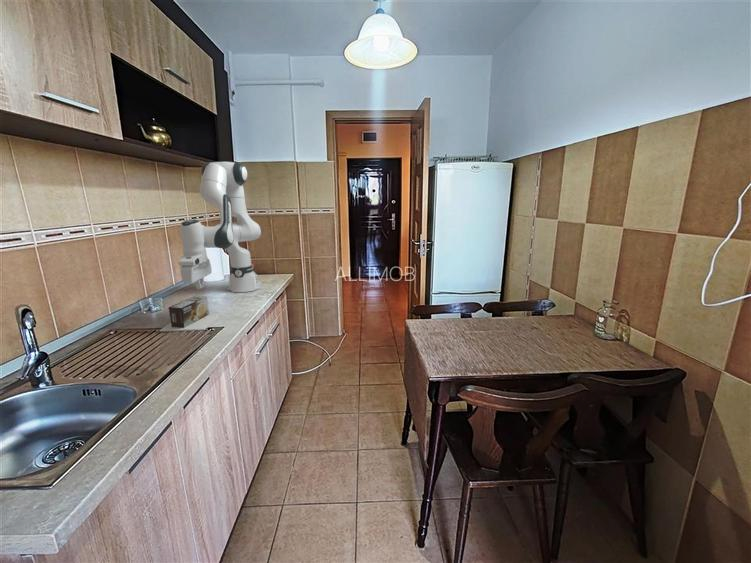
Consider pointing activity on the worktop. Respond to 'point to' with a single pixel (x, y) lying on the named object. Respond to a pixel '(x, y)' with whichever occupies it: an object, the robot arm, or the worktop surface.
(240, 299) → the worktop surface
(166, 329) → the mat
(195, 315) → the coffee box
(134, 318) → the worktop surface
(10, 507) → the worktop surface
